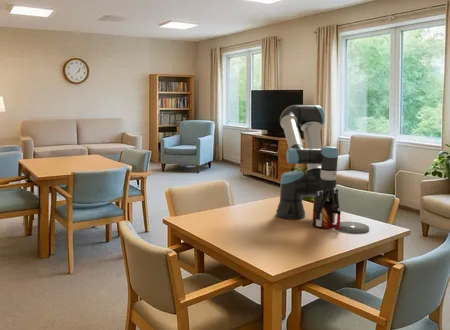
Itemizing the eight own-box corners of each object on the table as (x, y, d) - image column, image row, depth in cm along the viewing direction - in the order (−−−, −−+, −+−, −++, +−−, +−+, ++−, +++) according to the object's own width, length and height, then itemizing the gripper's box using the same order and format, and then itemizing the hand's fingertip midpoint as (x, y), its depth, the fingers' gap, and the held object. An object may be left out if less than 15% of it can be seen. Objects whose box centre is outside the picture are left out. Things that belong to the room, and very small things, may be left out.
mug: (339, 231, 212) (340, 207, 210) (310, 227, 218) (311, 203, 216) (343, 226, 220) (344, 202, 219) (315, 222, 226) (316, 199, 224)
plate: (327, 227, 218) (328, 224, 218) (347, 222, 229) (347, 219, 228) (356, 235, 206) (356, 232, 206) (375, 229, 216) (375, 226, 216)
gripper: (319, 182, 205) (316, 229, 208) (348, 178, 220) (345, 222, 223) (306, 179, 211) (304, 226, 214) (336, 175, 225) (333, 219, 228)
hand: (325, 224), depth 218 cm, fingers closed on mug, 10 cm apart
